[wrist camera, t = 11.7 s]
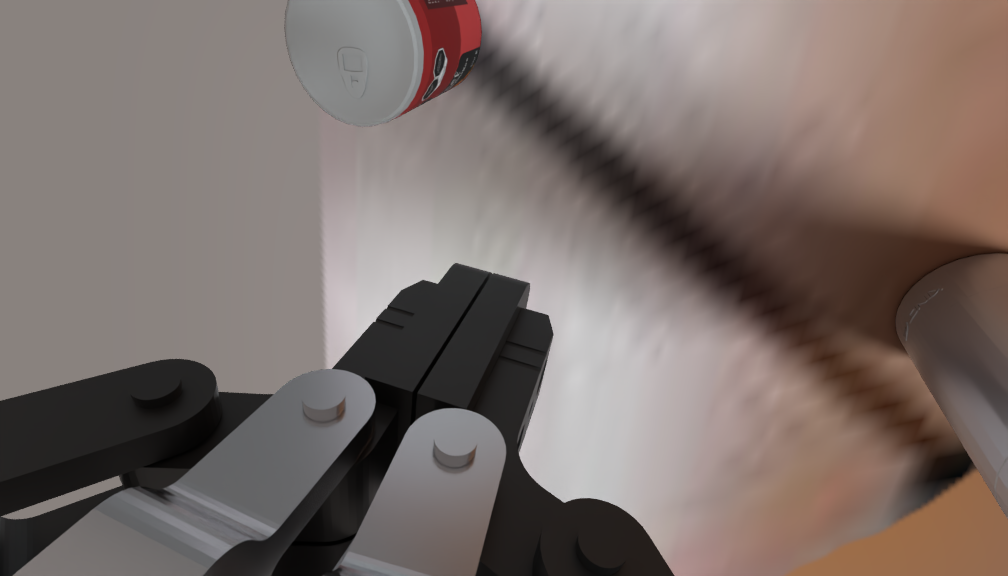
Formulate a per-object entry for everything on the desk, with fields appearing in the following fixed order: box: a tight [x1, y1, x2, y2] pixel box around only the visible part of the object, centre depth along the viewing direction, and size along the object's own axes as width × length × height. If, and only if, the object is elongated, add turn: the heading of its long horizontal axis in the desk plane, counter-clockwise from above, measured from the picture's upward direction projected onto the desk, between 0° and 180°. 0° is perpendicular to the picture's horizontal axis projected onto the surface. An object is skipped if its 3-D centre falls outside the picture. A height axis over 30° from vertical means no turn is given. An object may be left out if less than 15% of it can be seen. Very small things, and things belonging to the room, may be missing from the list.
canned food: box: [285, 0, 482, 126], centre depth 31 cm, size 8×8×11 cm
